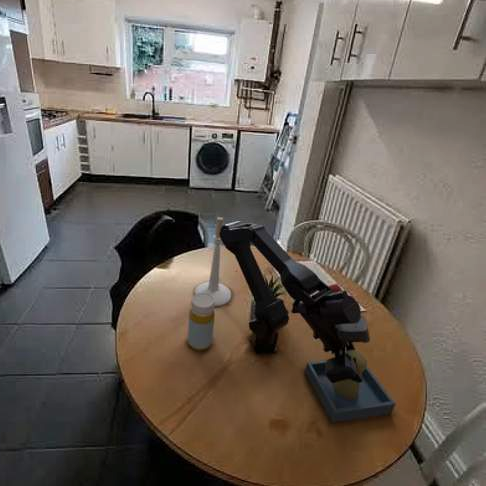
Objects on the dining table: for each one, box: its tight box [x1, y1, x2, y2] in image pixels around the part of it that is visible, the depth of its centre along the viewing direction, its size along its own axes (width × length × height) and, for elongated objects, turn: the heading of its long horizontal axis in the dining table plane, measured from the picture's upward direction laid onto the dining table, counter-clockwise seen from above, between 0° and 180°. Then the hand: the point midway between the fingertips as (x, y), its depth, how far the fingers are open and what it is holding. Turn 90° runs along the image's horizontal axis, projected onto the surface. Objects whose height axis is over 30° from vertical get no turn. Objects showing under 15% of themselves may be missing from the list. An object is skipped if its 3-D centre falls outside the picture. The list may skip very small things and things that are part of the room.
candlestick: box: [194, 216, 232, 307], centre depth 104 cm, size 13×13×30 cm
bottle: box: [187, 293, 216, 351], centre depth 86 cm, size 7×7×15 cm
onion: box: [328, 282, 343, 293], centre depth 109 cm, size 6×6×8 cm
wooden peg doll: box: [333, 349, 368, 400], centre depth 75 cm, size 6×6×11 cm
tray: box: [304, 359, 396, 424], centre depth 77 cm, size 16×14×4 cm
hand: (359, 371), depth 74 cm, fingers open, 6 cm apart
